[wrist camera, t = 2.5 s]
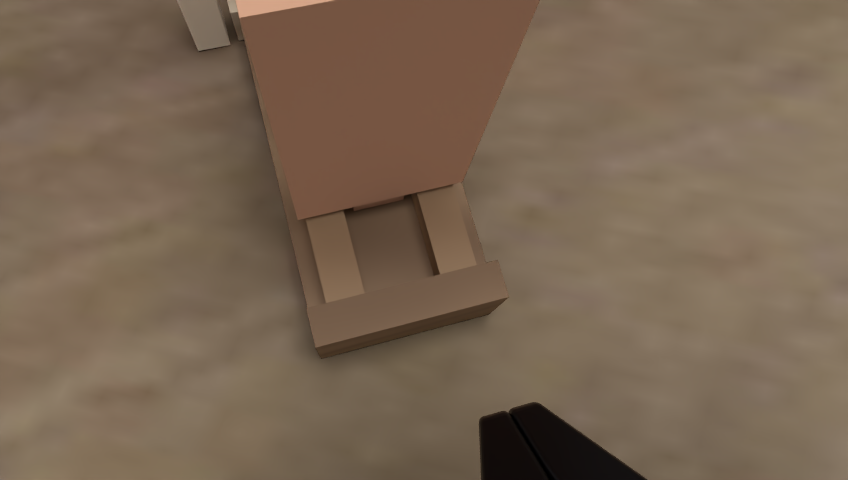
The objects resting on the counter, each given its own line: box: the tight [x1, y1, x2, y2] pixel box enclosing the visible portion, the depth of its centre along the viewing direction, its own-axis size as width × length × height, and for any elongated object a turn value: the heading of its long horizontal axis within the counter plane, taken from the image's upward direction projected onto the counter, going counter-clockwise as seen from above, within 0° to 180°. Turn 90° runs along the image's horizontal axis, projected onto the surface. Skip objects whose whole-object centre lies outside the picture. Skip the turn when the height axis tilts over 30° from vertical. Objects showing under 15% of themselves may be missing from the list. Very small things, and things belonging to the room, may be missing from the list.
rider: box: [236, 0, 540, 220], centre depth 14 cm, size 4×4×10 cm
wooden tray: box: [227, 0, 509, 359], centre depth 20 cm, size 16×5×3 cm, turn 16°
